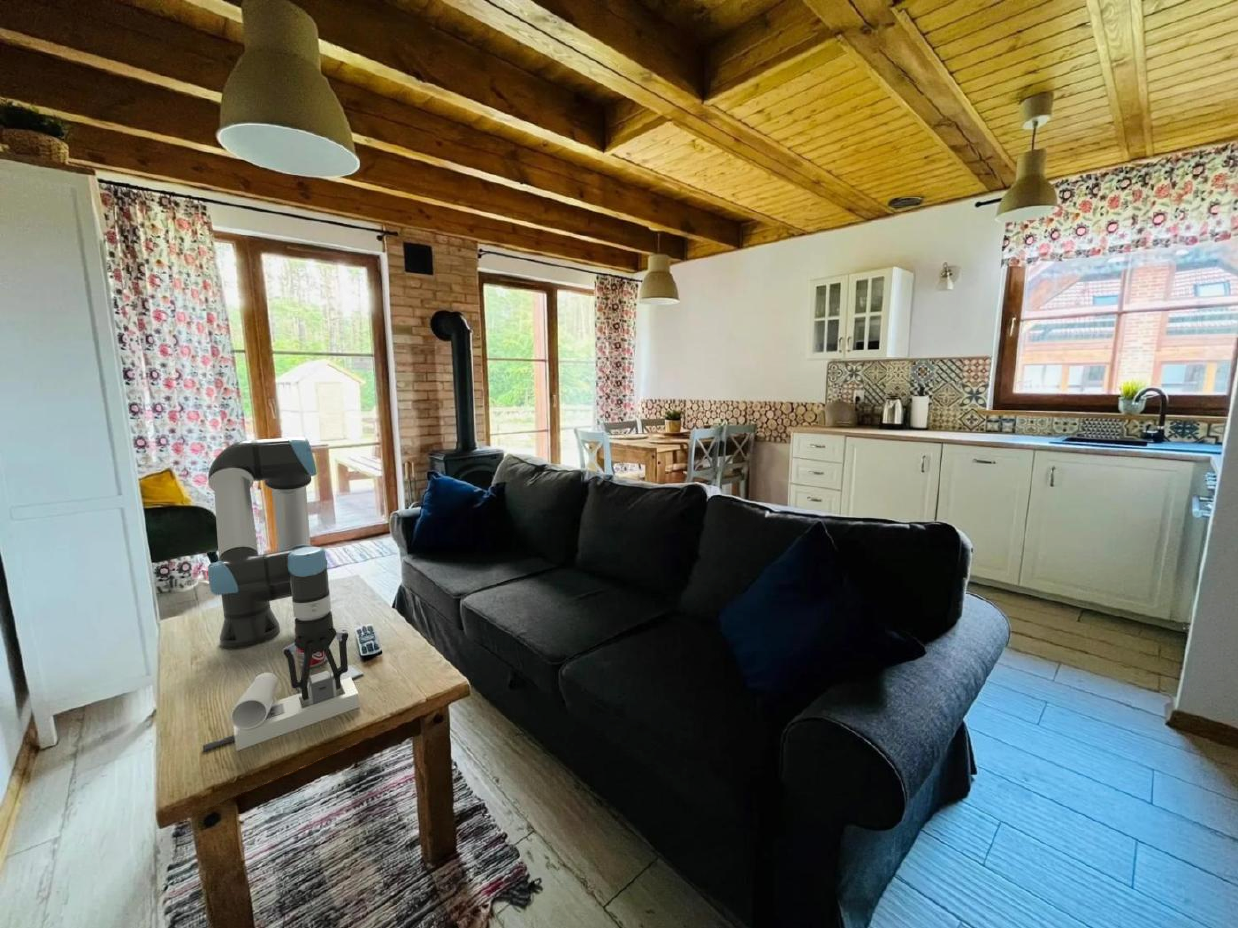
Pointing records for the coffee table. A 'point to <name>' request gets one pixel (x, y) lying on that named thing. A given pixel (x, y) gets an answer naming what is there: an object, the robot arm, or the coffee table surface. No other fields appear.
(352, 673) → the phone slab
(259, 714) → the drinking glass
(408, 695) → the coffee table surface
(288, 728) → the power strip
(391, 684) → the coffee table surface
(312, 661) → the soda can
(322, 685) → the block
